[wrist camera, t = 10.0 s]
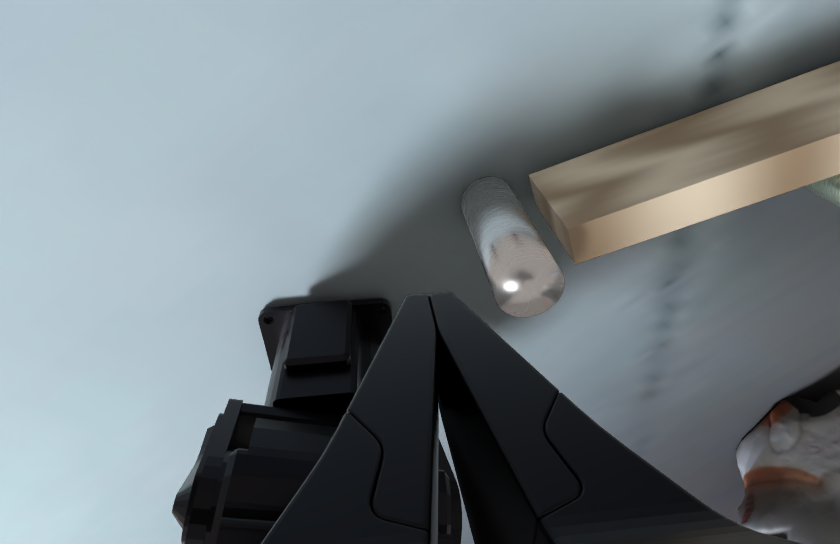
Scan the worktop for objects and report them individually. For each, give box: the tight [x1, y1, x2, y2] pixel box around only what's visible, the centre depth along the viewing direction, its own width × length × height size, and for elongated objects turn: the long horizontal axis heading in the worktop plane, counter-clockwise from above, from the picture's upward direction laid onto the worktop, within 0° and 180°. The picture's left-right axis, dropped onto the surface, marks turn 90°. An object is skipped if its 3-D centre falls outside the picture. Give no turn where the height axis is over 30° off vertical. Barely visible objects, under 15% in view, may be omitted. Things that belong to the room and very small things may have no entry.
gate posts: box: [461, 174, 840, 317], centre depth 20 cm, size 2×16×7 cm, turn 99°
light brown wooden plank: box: [529, 61, 840, 265], centre depth 19 cm, size 17×2×5 cm, turn 110°
